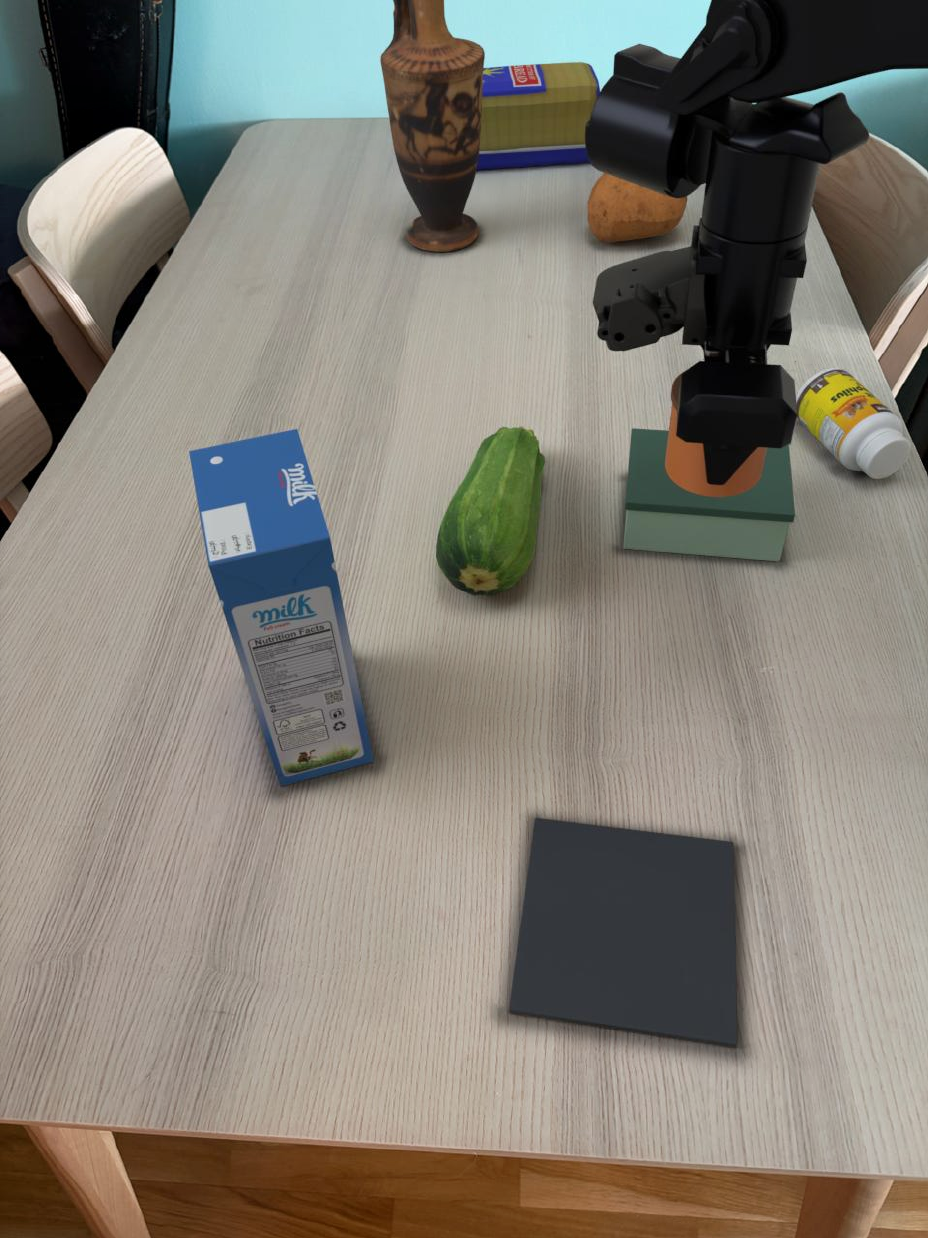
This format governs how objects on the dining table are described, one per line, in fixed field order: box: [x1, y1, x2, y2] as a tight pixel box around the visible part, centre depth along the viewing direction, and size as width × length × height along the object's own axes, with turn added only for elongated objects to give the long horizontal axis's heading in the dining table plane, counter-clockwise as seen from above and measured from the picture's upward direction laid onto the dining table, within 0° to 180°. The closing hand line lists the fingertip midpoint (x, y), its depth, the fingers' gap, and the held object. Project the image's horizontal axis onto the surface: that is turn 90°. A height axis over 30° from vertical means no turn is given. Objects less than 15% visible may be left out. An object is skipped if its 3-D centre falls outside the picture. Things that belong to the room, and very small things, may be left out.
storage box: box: [623, 428, 796, 562], centre depth 77 cm, size 12×9×5 cm
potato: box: [586, 173, 688, 243], centre depth 110 cm, size 9×11×8 cm
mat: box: [508, 817, 739, 1048], centre depth 56 cm, size 12×12×1 cm
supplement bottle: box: [796, 367, 912, 480], centre depth 82 cm, size 6×6×10 cm
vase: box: [379, 0, 486, 253], centre depth 104 cm, size 11×11×30 cm
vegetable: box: [435, 426, 547, 597], centre depth 77 cm, size 7×7×20 cm
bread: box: [476, 61, 601, 171], centre depth 126 cm, size 10×25×10 cm, turn 93°
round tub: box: [665, 370, 767, 497], centre depth 63 cm, size 7×7×6 cm
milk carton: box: [188, 428, 374, 787], centre depth 60 cm, size 10×6×20 cm, turn 17°
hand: (715, 451), depth 65 cm, fingers closed on round tub, 6 cm apart
